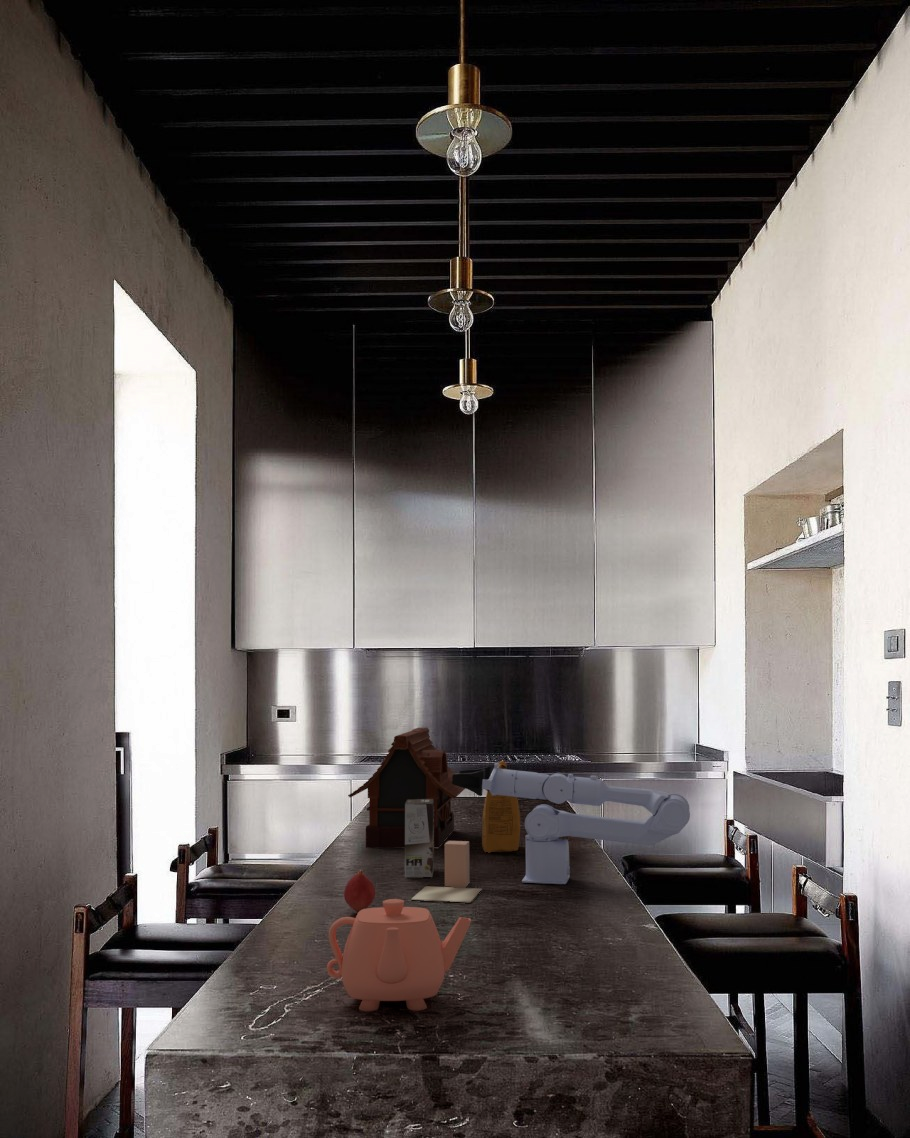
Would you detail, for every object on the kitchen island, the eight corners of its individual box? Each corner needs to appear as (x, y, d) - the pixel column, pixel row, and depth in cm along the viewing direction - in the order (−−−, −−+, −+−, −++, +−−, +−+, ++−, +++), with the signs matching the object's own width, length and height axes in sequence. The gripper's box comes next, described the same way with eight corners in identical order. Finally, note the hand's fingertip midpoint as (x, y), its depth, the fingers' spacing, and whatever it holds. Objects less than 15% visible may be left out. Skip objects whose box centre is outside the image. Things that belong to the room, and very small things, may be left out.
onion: (338, 914, 190) (338, 871, 191) (355, 908, 195) (355, 865, 196) (364, 918, 187) (364, 873, 188) (380, 911, 192) (380, 868, 193)
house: (455, 850, 257) (454, 735, 259) (346, 848, 260) (346, 734, 263) (471, 829, 291) (471, 727, 294) (375, 827, 295) (375, 727, 298)
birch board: (481, 890, 210) (481, 888, 210) (470, 903, 198) (470, 901, 198) (425, 888, 213) (425, 886, 213) (411, 901, 201) (411, 898, 201)
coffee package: (522, 846, 263) (521, 760, 265) (520, 854, 250) (519, 764, 253) (484, 845, 264) (483, 759, 266) (479, 854, 251) (479, 764, 254)
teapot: (476, 997, 142) (475, 898, 143) (393, 1031, 129) (393, 922, 130) (392, 975, 152) (391, 883, 153) (307, 1005, 139) (308, 904, 140)
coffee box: (433, 878, 223) (432, 803, 225) (403, 878, 223) (403, 803, 225) (434, 869, 232) (434, 798, 234) (406, 869, 232) (406, 798, 234)
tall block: (469, 884, 216) (469, 841, 217) (465, 888, 212) (465, 844, 213) (448, 883, 217) (448, 840, 218) (444, 887, 213) (444, 843, 214)
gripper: (522, 762, 230) (464, 756, 233) (512, 768, 216) (450, 762, 219) (520, 793, 230) (461, 787, 233) (510, 801, 216) (448, 795, 219)
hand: (456, 777), depth 226 cm, fingers open, 7 cm apart
